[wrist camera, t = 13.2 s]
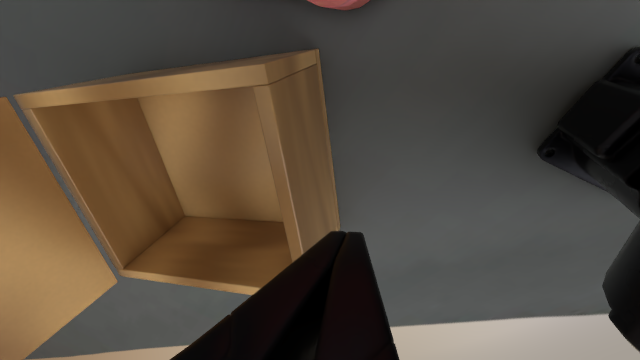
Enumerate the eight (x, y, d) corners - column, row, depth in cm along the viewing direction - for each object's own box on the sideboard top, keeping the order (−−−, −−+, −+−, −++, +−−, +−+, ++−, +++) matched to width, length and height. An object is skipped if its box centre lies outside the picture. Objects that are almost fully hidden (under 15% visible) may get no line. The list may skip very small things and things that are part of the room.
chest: (318, 48, 18) (264, 63, 11) (340, 226, 24) (313, 304, 17) (128, 73, 23) (12, 95, 16) (187, 217, 29) (119, 276, 22)
